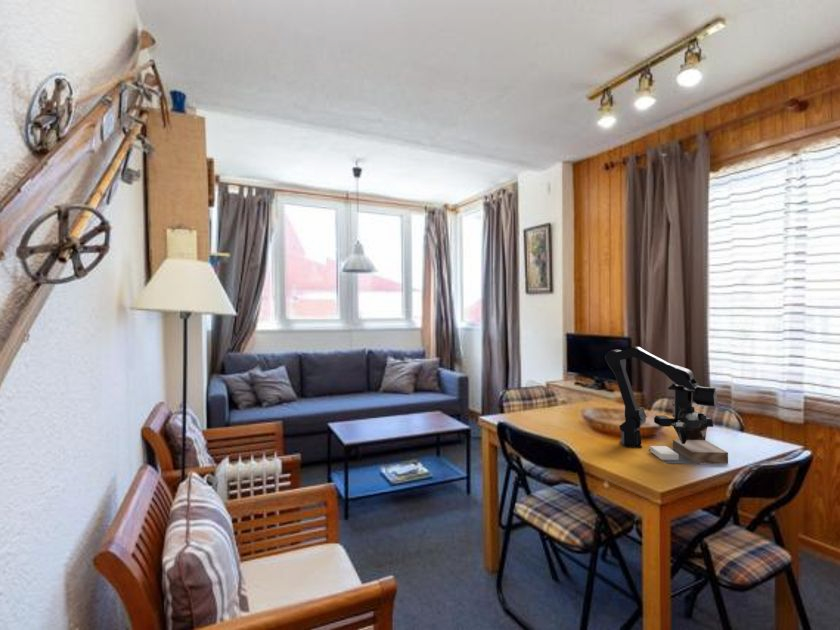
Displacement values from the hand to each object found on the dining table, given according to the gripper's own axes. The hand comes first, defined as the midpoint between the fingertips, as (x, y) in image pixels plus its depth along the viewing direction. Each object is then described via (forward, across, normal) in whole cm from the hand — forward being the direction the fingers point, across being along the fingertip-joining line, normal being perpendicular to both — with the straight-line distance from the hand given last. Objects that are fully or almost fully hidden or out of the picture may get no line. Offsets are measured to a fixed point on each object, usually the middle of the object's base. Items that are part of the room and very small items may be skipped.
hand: (683, 443), depth 158 cm
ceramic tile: (+2, -7, 0) cm, 8 cm away
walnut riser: (+5, +6, 0) cm, 7 cm away
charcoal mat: (+5, -4, -1) cm, 6 cm away
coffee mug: (+5, +14, +15) cm, 21 cm away
